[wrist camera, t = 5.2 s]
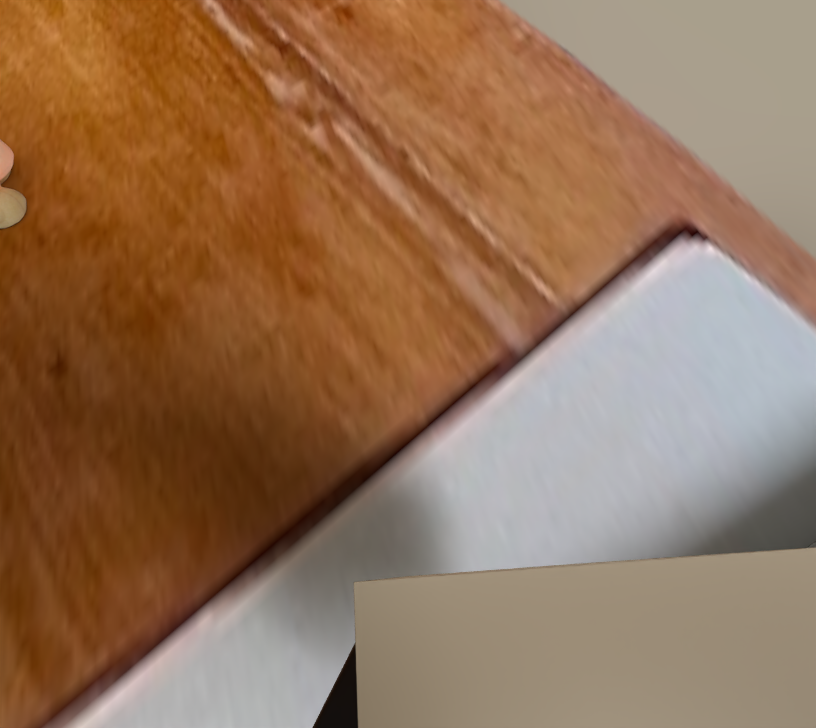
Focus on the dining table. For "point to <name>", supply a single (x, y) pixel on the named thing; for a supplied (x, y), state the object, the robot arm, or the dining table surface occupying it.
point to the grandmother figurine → (9, 192)
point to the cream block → (593, 645)
